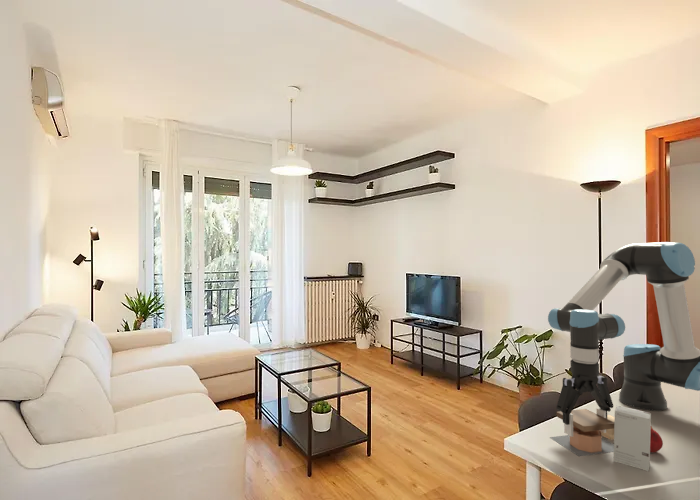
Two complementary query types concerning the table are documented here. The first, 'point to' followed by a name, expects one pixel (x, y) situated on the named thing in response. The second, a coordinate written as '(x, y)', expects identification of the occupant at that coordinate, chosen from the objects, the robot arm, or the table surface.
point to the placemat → (565, 442)
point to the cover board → (588, 420)
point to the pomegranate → (655, 441)
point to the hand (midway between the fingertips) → (585, 432)
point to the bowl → (586, 440)
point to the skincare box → (632, 437)
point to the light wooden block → (609, 432)
